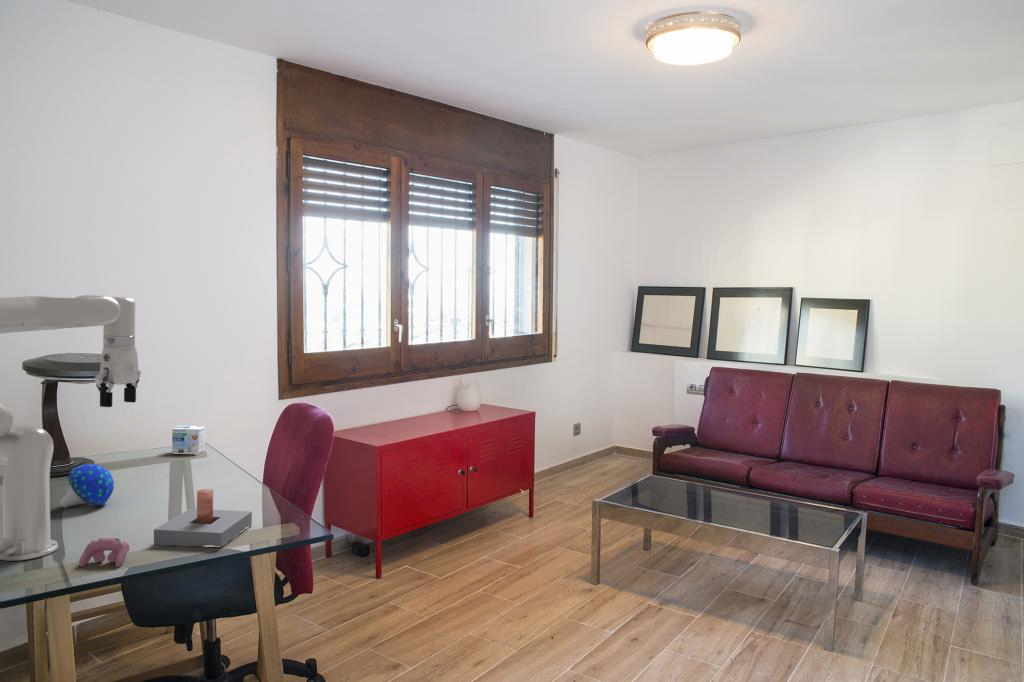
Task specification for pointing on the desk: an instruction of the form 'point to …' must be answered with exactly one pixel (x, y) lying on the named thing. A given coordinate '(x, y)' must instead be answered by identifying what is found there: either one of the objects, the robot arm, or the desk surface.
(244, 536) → the desk surface
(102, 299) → the robot arm
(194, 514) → the socket plate
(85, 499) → the mushroom
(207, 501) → the dowel
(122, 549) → the video game controller
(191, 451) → the light bulb box
